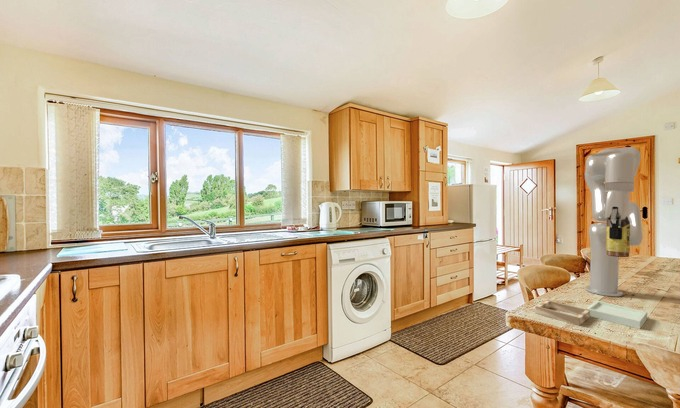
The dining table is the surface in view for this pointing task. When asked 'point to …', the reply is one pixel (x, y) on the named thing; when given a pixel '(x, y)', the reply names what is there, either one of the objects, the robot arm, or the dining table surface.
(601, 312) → the shallow square tray
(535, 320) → the dining table surface
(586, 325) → the dining table surface
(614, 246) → the sauce bottle
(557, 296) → the dining table surface
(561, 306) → the tan flat square frame
